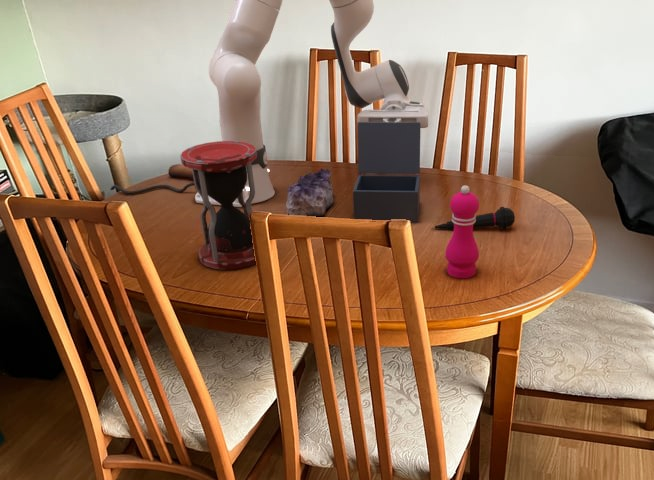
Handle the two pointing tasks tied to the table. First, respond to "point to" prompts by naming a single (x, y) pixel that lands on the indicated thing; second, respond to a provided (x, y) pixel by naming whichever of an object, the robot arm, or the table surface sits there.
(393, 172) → the lid
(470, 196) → the pepper mill
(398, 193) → the case
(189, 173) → the sunglasses case
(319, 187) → the geode
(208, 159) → the hourglass
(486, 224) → the microphone
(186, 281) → the table surface
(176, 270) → the table surface
